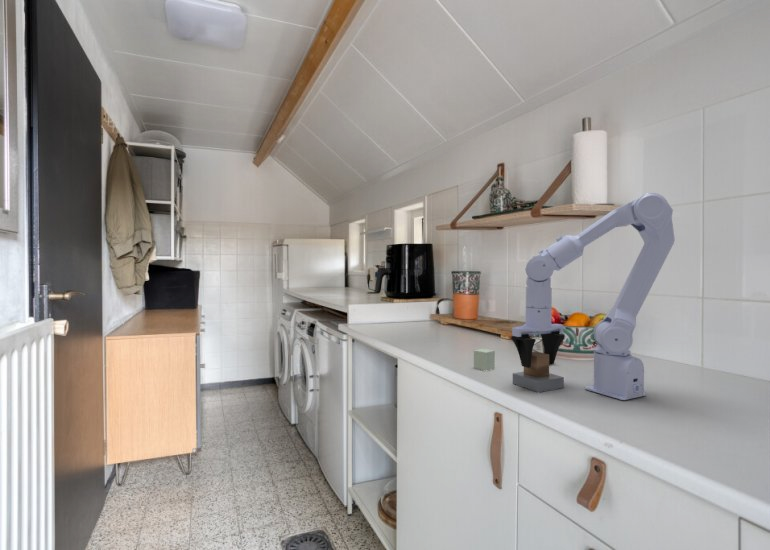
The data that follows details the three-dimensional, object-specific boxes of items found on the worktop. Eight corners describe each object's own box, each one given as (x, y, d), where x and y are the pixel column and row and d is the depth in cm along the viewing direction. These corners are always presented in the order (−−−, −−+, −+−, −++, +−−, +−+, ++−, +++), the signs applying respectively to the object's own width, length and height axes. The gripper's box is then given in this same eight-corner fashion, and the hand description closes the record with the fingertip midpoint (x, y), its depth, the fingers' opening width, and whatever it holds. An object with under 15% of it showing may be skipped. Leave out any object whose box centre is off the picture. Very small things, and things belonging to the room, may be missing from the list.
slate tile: (563, 387, 99) (563, 377, 98) (538, 392, 95) (538, 381, 95) (536, 379, 106) (537, 369, 106) (512, 383, 102) (512, 373, 102)
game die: (542, 374, 126) (558, 346, 128) (550, 370, 118) (566, 340, 120) (514, 357, 128) (530, 330, 130) (520, 353, 120) (537, 323, 122)
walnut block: (549, 375, 100) (549, 354, 100) (536, 377, 98) (536, 356, 98) (535, 371, 103) (536, 351, 103) (523, 373, 101) (523, 352, 101)
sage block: (494, 368, 117) (494, 350, 117) (486, 371, 114) (486, 352, 114) (482, 366, 120) (482, 348, 120) (473, 368, 117) (473, 350, 117)
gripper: (547, 304, 107) (546, 358, 107) (502, 307, 100) (502, 364, 100) (570, 307, 100) (570, 364, 101) (525, 309, 94) (524, 371, 94)
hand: (537, 365), depth 100 cm, fingers open, 7 cm apart
